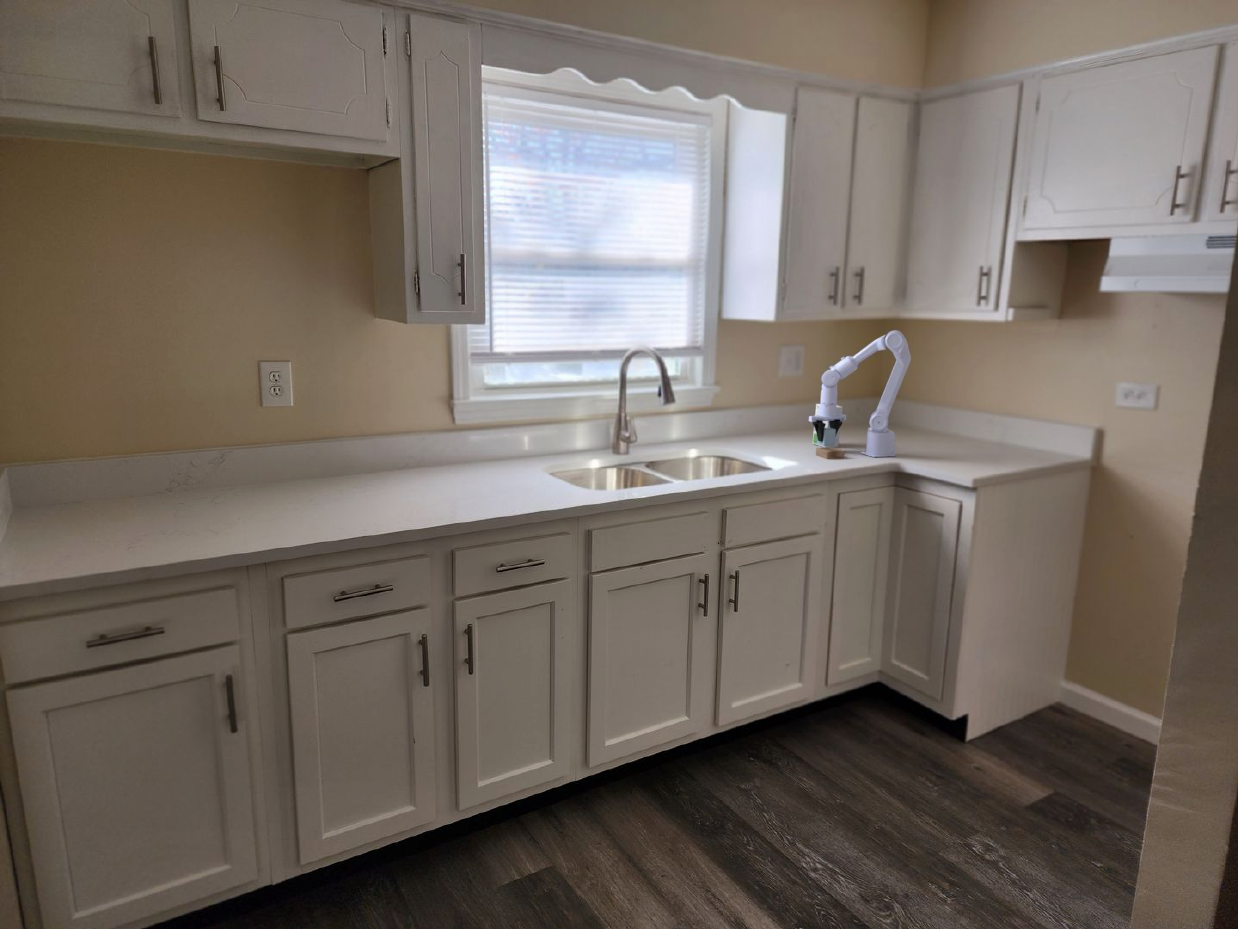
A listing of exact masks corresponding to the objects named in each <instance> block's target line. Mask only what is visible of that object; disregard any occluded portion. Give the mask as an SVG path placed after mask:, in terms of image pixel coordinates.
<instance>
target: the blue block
mask: <svg viewBox="0 0 1238 929" xmlns="http://www.w3.org/2000/svg"><path fill="white" fill-rule="evenodd" d="M835 434H836V429H833V428H829V427H826V428H824V433H823V441H822V442H821V441H818V438H817V444H818V445H822V446H835ZM818 445H817V446H818Z"/></svg>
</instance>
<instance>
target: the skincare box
mask: <svg viewBox="0 0 1238 929" xmlns="http://www.w3.org/2000/svg"><path fill="white" fill-rule="evenodd" d="M843 408H844V407H843V406H840V405H837V407H836V415H843ZM815 415H820V403H815V414H814V416H815ZM840 421H842V420H840ZM823 423H825V424H826V425H825V428H826V427H829V428H830V426H829V421H823ZM840 434H841V427H840V428H839V430H838V432H837V435H836V437H835V446H822V445H818V444H817V433H816V430H815V427H814V426H813V435H812V445H816V446H819V447H820V448H825V447H835V448H839V443H840Z"/></svg>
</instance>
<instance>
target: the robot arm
mask: <svg viewBox="0 0 1238 929" xmlns="http://www.w3.org/2000/svg"><path fill="white" fill-rule="evenodd" d="M907 340H908V339H907V338H906V337H905V335H904V334H903V333H902V332H901V331H900V330H896V329H895V330H891V331H888V333H887V334H884V335H882V336H880V337H877V339H876V338H875V339H874V340H873V341H872V342H870V343H869V344H867V346H865V347H864V348H862V349H861V350H860V351H859V352H857V353H856V354H854V355H853V356H851V355H847V356H846V357H845V356H842V357H841V358H840V361H838V362H837V363H836V364H834V365H830V366H829V369H828V370H825V371H824V372H823V374H822V375H821V383H822V384H821V390H820V403H819V404H820V415H815V414H814V415H809V416H808V422H810V423H812V425H813V428H814V427H815V430H816V433H817V438H818V441H821V442H822V441H823V433H824V428H825V425H826V424H825V423H823V421H829V426H830V428H833V429H836V434H835V437H836V435H837V432H838V430H839V428H840V429H841V426H842V425H843V421H847V414H842V415H836V407H837V406H838V383H839V381H840V380H844V379H845V378H847V377H848V376H849V375H851V374H852V373H853V372H856V370H857V369H858V366H859V364H860V363H861V362H863V361H864V360H866V359H867V358H869V357H871V355H874V353H876V352H878V351H885V350H887V349H889V350H890V351H891V352H892V354H893V356H894V358H895V363H894V366H893V367H892V370H891V373H890V375H889V378H888V380H887V382H886V385H885V388H884V390H883V393H882V395H881V398H880V400H879V402H878V405H877V407H876V410H875V411H873V412H872V413H871V414H870V417H869V422H868V423H869V427H867V433H866V447H865V448H866V449H865V451H860V454H862V455H866V456H869V457H871V458H881V457H882V458H884V457H885V458H887V457H896V453H895V451H896V439H897V438H896V434H895V432H894V431H893V430H892V429H889V428H888V425H889V416H890V413H891V410H892V408H893V405H894V403H895V400H896V398H897V395H898V393H899V391H900V388H901V386H902V383H903V380H904V378H905V376H906V374H907V371H908V368H909V366H910V363H911V360H912V356H911V352H910V348H909V344H908V341H907ZM840 420H841V421H840Z"/></svg>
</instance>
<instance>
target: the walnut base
mask: <svg viewBox="0 0 1238 929" xmlns="http://www.w3.org/2000/svg"><path fill="white" fill-rule="evenodd" d="M845 452H846V450H843V449H840V448H839V447H825V448H824V447H816V448H815V456H817V457H820V458H823V459H825V460H837V459H845V455H846V454H845Z"/></svg>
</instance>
